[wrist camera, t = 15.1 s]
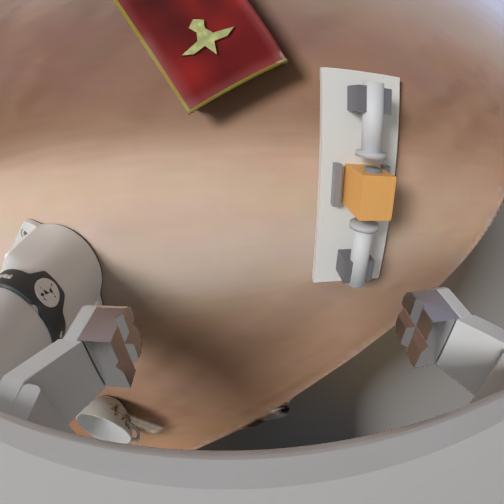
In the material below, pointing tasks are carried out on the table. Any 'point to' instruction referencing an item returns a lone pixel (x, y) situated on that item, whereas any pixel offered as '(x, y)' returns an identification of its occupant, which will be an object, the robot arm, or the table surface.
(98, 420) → the teacup
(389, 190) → the block
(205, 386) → the table surface
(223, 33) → the hardcover book
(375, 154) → the shaft rig
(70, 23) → the table surface
